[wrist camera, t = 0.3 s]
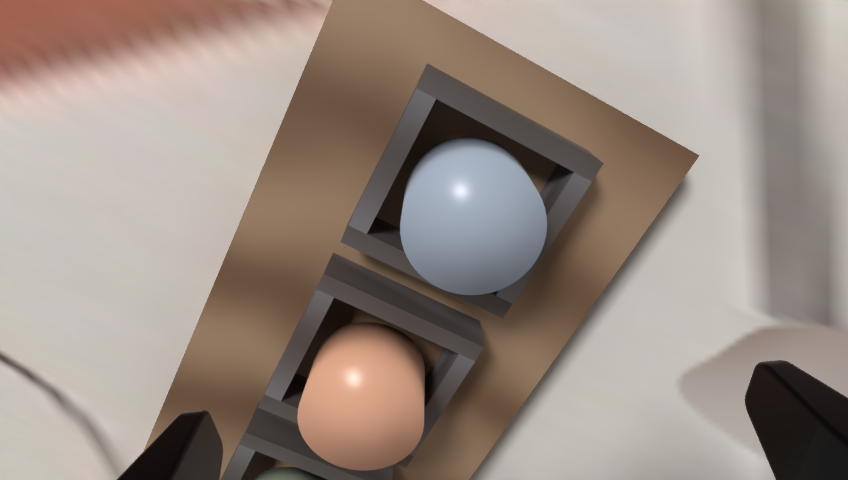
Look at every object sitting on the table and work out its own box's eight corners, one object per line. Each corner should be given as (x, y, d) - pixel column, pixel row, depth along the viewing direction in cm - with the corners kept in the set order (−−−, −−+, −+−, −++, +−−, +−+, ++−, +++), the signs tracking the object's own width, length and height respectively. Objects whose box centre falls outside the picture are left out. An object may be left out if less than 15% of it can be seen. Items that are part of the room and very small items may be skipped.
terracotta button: (394, 431, 23) (390, 487, 21) (296, 389, 23) (278, 442, 20) (444, 350, 22) (446, 399, 19) (341, 304, 21) (328, 347, 18)
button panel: (389, 560, 31) (384, 634, 27) (143, 467, 29) (101, 533, 25) (676, 143, 22) (726, 169, 19) (357, -36, 20) (341, -47, 16)
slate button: (490, 276, 21) (500, 316, 18) (383, 224, 20) (375, 257, 17) (554, 173, 19) (575, 199, 17) (441, 113, 19) (443, 130, 16)
